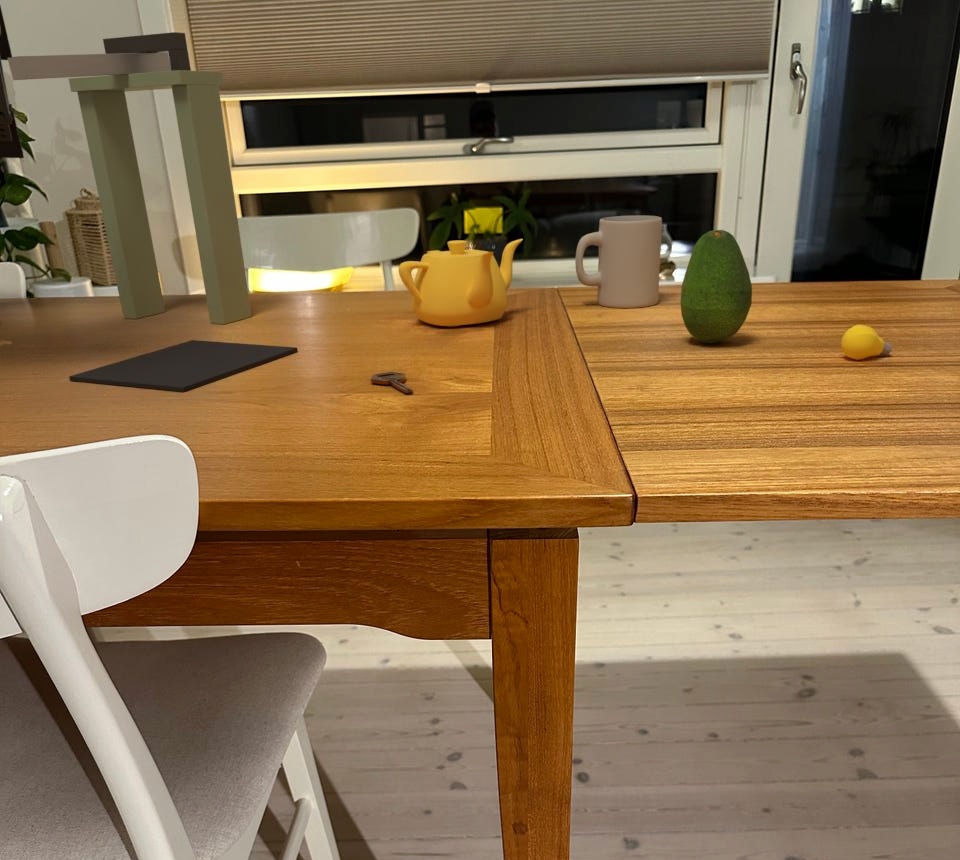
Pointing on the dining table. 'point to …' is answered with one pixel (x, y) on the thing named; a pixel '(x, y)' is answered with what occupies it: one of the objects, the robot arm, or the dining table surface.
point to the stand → (203, 173)
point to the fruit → (715, 288)
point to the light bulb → (863, 343)
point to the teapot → (459, 284)
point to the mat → (184, 365)
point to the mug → (624, 261)
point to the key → (392, 380)
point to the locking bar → (87, 65)
